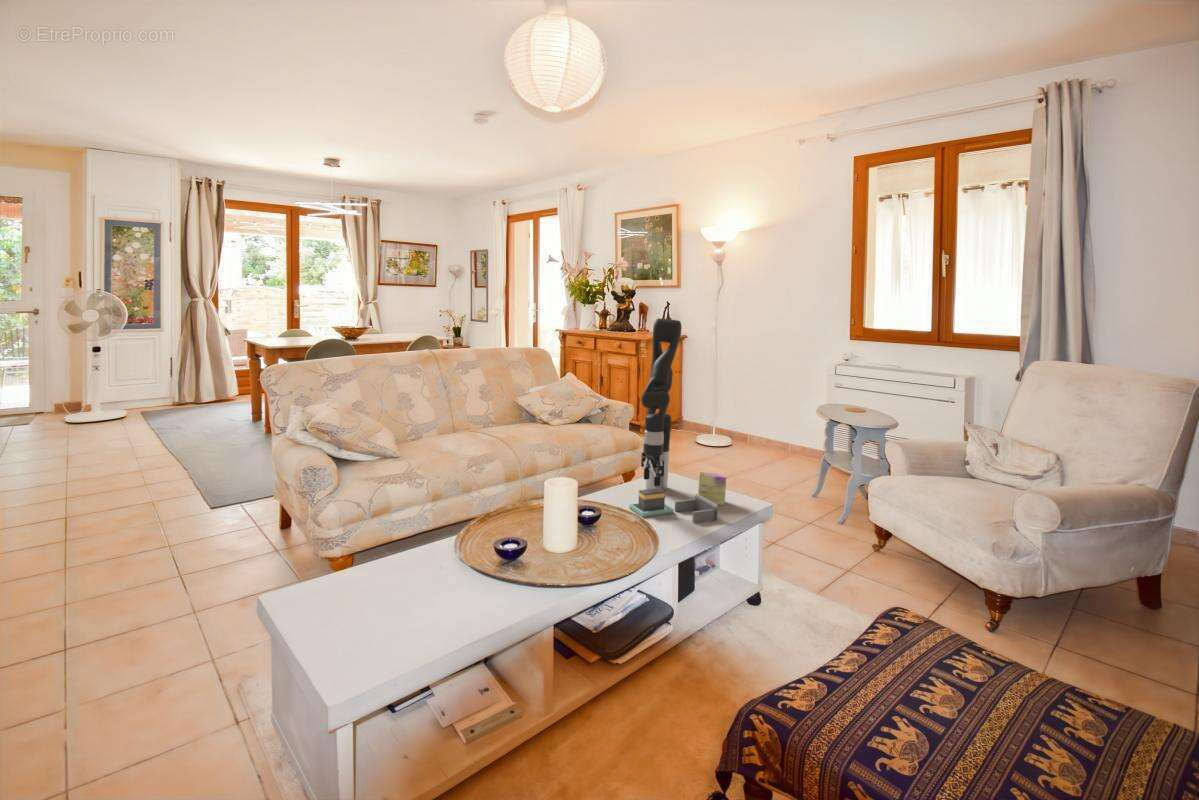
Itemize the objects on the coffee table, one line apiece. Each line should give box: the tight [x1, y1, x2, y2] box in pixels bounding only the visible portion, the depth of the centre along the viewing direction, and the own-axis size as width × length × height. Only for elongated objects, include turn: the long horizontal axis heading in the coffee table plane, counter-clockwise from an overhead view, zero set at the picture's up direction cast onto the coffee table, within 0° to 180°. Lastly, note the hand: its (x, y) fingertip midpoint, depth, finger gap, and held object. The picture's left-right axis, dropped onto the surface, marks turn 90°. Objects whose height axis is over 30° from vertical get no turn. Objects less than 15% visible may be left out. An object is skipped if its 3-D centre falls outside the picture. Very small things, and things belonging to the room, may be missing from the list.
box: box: [697, 471, 727, 506], centre depth 242 cm, size 10×6×12 cm, turn 84°
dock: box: [674, 493, 719, 524], centre depth 226 cm, size 14×10×6 cm
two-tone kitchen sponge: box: [638, 488, 666, 512], centre depth 229 cm, size 9×5×8 cm, turn 114°
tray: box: [629, 502, 675, 518], centre depth 230 cm, size 11×14×2 cm
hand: (651, 482), depth 229 cm, fingers open, 8 cm apart
